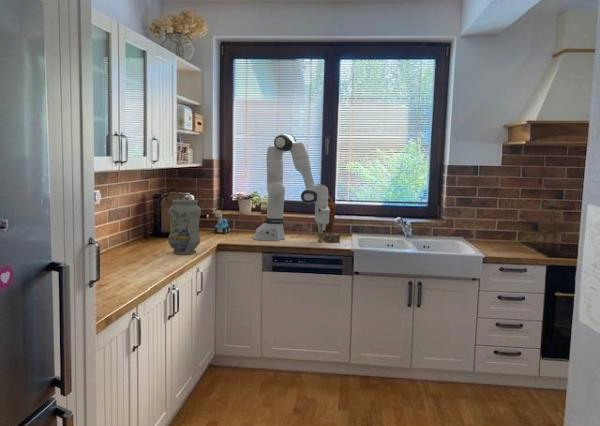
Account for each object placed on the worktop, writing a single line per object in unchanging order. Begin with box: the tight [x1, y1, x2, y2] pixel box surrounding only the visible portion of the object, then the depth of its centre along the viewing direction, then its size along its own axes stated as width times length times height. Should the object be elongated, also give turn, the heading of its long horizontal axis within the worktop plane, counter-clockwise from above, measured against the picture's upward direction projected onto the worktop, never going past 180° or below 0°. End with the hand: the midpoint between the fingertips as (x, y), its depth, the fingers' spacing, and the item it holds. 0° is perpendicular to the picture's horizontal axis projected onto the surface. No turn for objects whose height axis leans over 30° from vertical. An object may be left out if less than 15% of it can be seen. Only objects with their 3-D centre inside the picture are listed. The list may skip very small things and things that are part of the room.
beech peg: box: [317, 226, 323, 243], centre depth 333 cm, size 3×3×10 cm
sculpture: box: [322, 195, 338, 238], centre depth 355 cm, size 13×9×30 cm
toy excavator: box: [214, 209, 231, 234], centre depth 356 cm, size 9×17×17 cm, turn 167°
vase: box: [167, 199, 202, 256], centre depth 279 cm, size 18×18×30 cm
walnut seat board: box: [322, 232, 341, 243], centre depth 337 cm, size 9×10×5 cm
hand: (321, 229), depth 332 cm, fingers open, 8 cm apart
